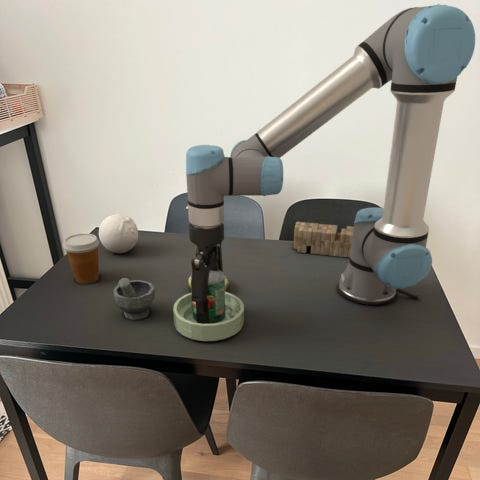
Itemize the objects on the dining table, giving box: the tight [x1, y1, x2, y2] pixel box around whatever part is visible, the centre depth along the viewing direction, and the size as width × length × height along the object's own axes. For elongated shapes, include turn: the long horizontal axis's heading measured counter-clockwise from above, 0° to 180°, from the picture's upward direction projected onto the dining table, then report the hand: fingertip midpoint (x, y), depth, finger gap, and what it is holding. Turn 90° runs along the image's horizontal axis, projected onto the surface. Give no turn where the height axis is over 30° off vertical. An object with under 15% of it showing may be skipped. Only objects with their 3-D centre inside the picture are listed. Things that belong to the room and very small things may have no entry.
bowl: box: [172, 291, 245, 342], centre depth 111 cm, size 17×17×5 cm
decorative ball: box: [98, 213, 139, 254], centre depth 146 cm, size 12×12×12 cm
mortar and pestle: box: [112, 277, 156, 321], centre depth 113 cm, size 11×9×12 cm
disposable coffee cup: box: [62, 232, 100, 285], centre depth 129 cm, size 10×10×12 cm
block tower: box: [293, 221, 354, 259], centre depth 148 cm, size 8×8×29 cm
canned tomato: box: [189, 270, 226, 324], centre depth 109 cm, size 8×8×11 cm
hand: (208, 314), depth 111 cm, fingers closed on canned tomato, 8 cm apart
